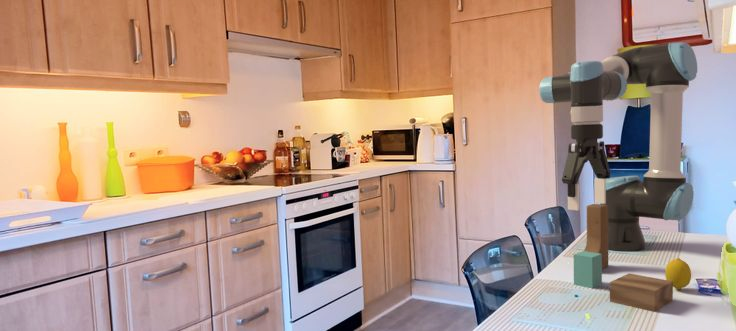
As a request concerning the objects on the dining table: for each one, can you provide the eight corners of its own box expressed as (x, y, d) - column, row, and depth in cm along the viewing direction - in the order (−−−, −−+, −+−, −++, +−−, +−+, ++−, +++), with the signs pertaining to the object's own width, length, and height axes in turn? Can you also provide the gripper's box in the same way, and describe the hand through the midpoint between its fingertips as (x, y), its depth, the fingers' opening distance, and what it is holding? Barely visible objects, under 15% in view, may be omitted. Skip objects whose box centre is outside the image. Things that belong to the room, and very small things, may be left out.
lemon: (660, 288, 135) (660, 257, 134) (676, 285, 137) (676, 254, 136) (679, 294, 130) (680, 262, 129) (696, 291, 132) (696, 259, 131)
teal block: (583, 280, 144) (583, 250, 144) (601, 284, 140) (601, 253, 140) (573, 284, 141) (573, 254, 140) (592, 288, 137) (592, 257, 137)
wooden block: (594, 273, 150) (593, 209, 149) (578, 270, 154) (578, 207, 152) (608, 266, 156) (608, 204, 155) (593, 264, 160) (593, 203, 158)
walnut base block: (629, 293, 134) (629, 273, 133) (672, 302, 126) (672, 281, 126) (609, 303, 127) (609, 282, 127) (654, 313, 119) (654, 291, 119)
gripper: (596, 122, 148) (596, 199, 150) (546, 125, 132) (547, 211, 134) (624, 121, 143) (624, 201, 144) (575, 124, 127) (576, 214, 128)
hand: (587, 206), depth 139 cm, fingers open, 13 cm apart
